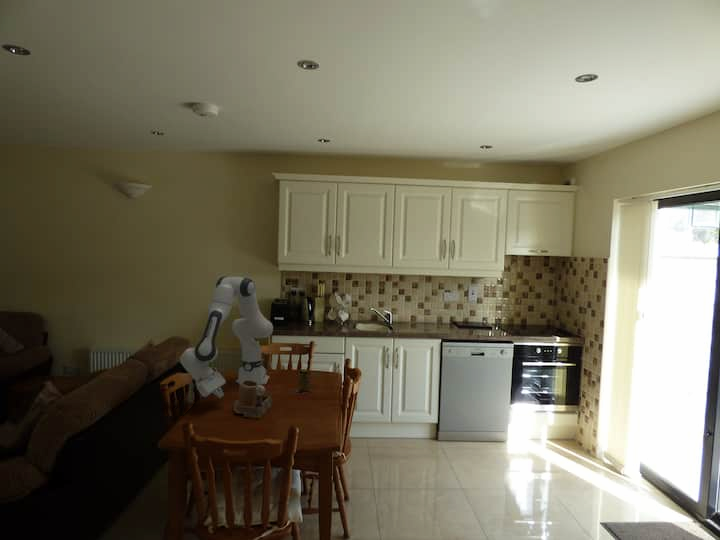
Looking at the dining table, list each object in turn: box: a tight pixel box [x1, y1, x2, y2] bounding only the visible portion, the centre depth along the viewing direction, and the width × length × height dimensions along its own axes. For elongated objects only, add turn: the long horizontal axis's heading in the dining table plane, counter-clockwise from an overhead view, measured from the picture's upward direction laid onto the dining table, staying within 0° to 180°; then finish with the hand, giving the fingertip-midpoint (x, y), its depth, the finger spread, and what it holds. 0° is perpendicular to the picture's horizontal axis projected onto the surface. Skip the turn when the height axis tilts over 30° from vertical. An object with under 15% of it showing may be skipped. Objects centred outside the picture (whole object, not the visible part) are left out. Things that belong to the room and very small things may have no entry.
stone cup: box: [233, 380, 259, 414], centre depth 225 cm, size 15×12×15 cm
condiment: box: [294, 369, 310, 395], centre depth 258 cm, size 7×8×12 cm
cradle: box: [243, 384, 274, 419], centre depth 224 cm, size 19×10×15 cm, turn 172°
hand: (222, 396), depth 227 cm, fingers closed
